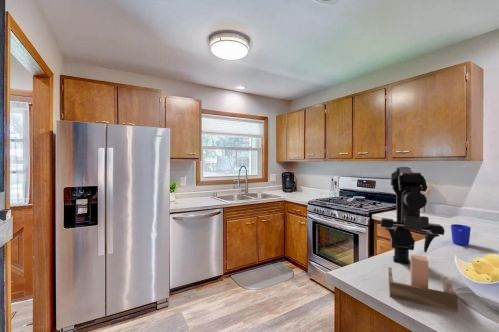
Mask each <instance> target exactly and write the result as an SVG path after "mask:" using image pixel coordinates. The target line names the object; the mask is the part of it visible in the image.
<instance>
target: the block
mask: <svg viewBox="0 0 499 332" xmlns="http://www.w3.org/2000/svg"><path fill="white" fill-rule="evenodd" d="M410 263H411V264H410V285H412V286H417V287H423V288H428V289H429V260H428V258H427V256H423V255H418V254H410Z"/></svg>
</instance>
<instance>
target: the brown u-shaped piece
mask: <svg viewBox="0 0 499 332" xmlns="http://www.w3.org/2000/svg"><path fill="white" fill-rule="evenodd" d="M387 269H388V291H389V297H392V298H395V299H399V300H402V301H403V300H404V301H408V302H413V303H418V304H420V305H421V304H422V305H425V306H431V307H434V308H438V309H444V310H448V311H452V312H456V313H457V312H458V310H459V309H458V307H459V303H458V294H457V293H456V291H455V289H454V288H453V285H452V284H451V282H450V280H449V279H448V277H446V276H443V278H442V282H443V284H442V285H443V287H442V288H443V291H442V290H437V289H432V288H429V287H428V288H423V287H417V286H412V285H411V284H407V283H403V282H397V281H394V278H393V270H392V267H389V266H388V268H387Z"/></svg>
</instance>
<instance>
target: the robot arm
mask: <svg viewBox="0 0 499 332" xmlns="http://www.w3.org/2000/svg"><path fill="white" fill-rule="evenodd" d="M390 186H391V187H392V188H391V189H392V191H393V192H394V194H395V195H396V199H395V200H396V202H395V203H396V221H395V220H394V219H393V218H388V217H386V218H385V217H382V218H381V219H380V227H381V228H384V230H386V231H388V232H389V236H390V247H391V248H392V249H393V250H394V253H393V254H394V255H393V256H392V259H393V262H394V263H400V264H407V265H411V259H410V251H414V249H415V243H416V240H415V238H414V236H413V233H412V232H411V231H410V230H413V231H418V232H419V231H425V236H424V245H423V253H427V252H428V249H429V247H430V245H431V244H432V241H433V240H434V239H435V238H437V237H440V235H441V236H444V235H445V228H444V226H442V225H441V224H438V223H432V222H431V223H430V222H429V221H430V220H429V219H430V218H429V217H428V216H421V209H423V208H425V206H426V205H427V203H428V199H427V196H425V195H424V194H423V193H422V192H426V191H427V190H428V184H427V181H426V178H424V175H422V173H421V172H413V171H412V170H411V167H408V166H406V167H405V166H400V167H399V166H398V167H396V170H394V172H392V173H391V176H390Z"/></svg>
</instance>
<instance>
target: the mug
mask: <svg viewBox="0 0 499 332" xmlns="http://www.w3.org/2000/svg"><path fill="white" fill-rule="evenodd" d="M471 229H472V228H471V226H469V225H465V224H464V225H463V224H458V223H457V224H456V223H455V224H454V223H453V224H450V231H451V240H452V243H453V244H455V245H458V246H464V247H465V246H466V247H467V246H469V244H470V239H471V238H470V237H471Z"/></svg>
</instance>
